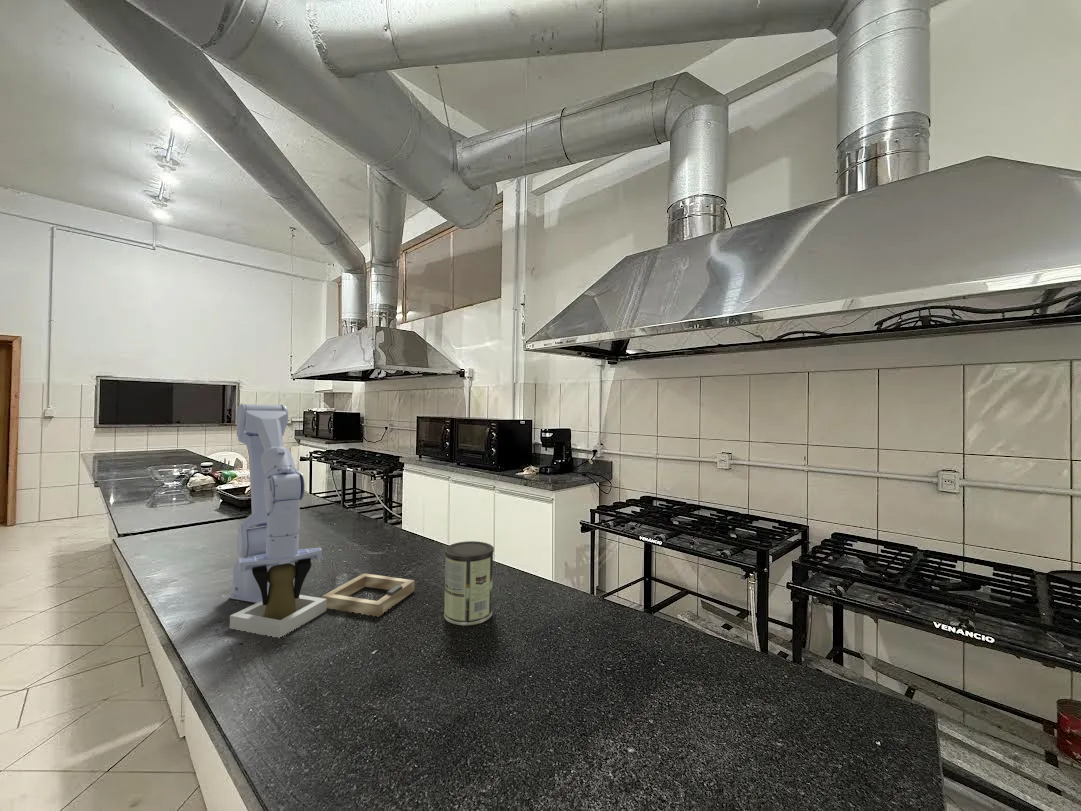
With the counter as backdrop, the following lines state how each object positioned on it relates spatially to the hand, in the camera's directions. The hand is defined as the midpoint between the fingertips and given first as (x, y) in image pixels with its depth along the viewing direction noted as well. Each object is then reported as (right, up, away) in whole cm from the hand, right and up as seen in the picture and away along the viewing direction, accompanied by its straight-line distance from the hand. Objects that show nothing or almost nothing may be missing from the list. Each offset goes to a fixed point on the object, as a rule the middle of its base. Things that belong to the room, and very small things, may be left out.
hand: (280, 600), depth 91 cm
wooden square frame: (+14, -4, +11) cm, 18 cm away
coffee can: (+37, -5, +4) cm, 38 cm away
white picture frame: (0, -4, 0) cm, 4 cm away
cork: (0, -4, 0) cm, 4 cm away
